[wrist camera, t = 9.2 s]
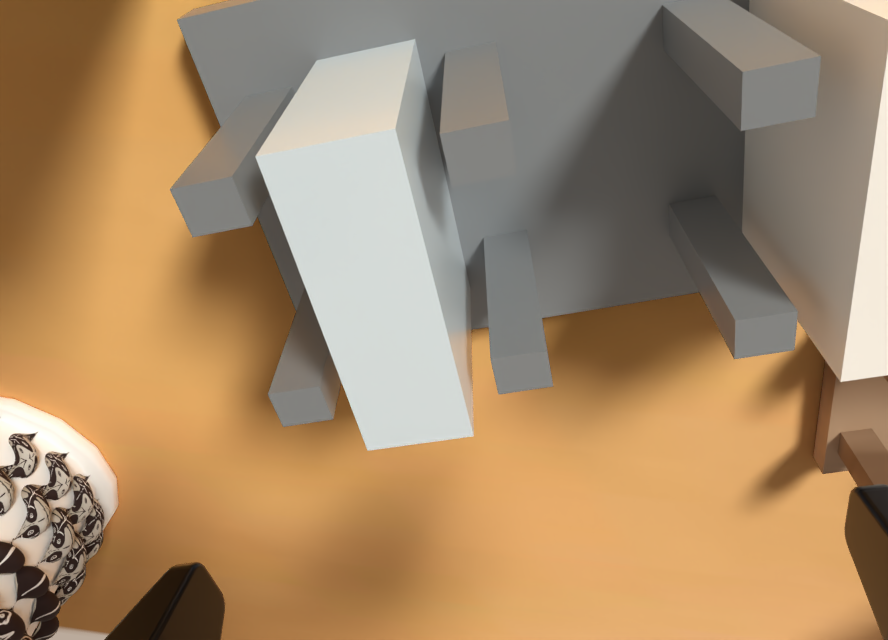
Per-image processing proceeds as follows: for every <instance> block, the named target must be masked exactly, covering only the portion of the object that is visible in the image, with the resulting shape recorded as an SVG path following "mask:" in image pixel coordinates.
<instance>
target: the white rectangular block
mask: <svg viewBox="0 0 888 640" xmlns="http://www.w3.org/2000/svg"><path fill="white" fill-rule="evenodd" d="M749 12H750V13H752V14H753V15H755V16H756V17H758V18H760V19H761V20H763V21H765V22H766V23H768V24H770V25H771V26H773V27H774V28H776V29H778V30H779V31H781V32H783V33H784V34H786V35H788V36H789V37H791V38H792V39H794V40H796V41H797V42H799V43H801V44H802V45H804V46H806V47H807V48H809V49H811V50H812V51H814V52H815V53H817V54H819V55H820V56H821V61H820V72H819V84H818V95H817V106H816V117H812V118H807V119H802V120H796V121H791V122H786V123H781V124H776V125H771V126H765V127H760V128H755V129H750V130H745V154H744V185H743V216H742V233H743V234H744V236H745V237H746V239H747V240H748V242H749V243H750V244H751V246H752V247H753V249H754V250H755V251H756V253H757V254H758V256H759V257H760V258H761V260H762V261H763V263H764V264H765V265H766V267H767V268H768V270H769V271H770V272H771V274H772V275H773V277H774V278H775V280H776V281H777V282H778V284H779V285H780V287H781V288H782V289H783V291H784V292H785V294H786V295H787V296H788V298H789V299H790V301H791V302H792V303H793V305H794V306H795V308H796V309H797V310H798V316H797V320H798V322H799V323H800V325H801V326H802V327H803V329H804V330H805V332H806V333H807V335H808V336H809V337H810V339H811V340H812V342H813V343H814V345H815V346H816V348H817V349H818V350H819V352H820V353H821V355H822V356H823V358H824V359H825V360H826V362H827V363H828V365H829V366H830V368H831V369H832V370H833V372H834V373H835V375H836V376H837V378H838V379H839V381H840V382H844V381H851V380H858V379H865V378H872V377H879V376H886V375H888V0H749Z"/></svg>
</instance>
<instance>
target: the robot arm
mask: <svg viewBox="0 0 888 640" xmlns="http://www.w3.org/2000/svg"><path fill="white" fill-rule="evenodd" d="M845 538H846V542H847V545H848V548H849V551H850V553H851V556H852V559H853V561H854V564H855V566H856V569H857V572H858V574H859V577H860V579H861V582H862V585H863V587H864V590H865V592H866V595H867V598H868V600H869V603H870V605H871V608H872V611H873V613H874V616H875V618H876V621H877V624H878V626H879V629H880V631H881V634H882V637H883V639H884V640H888V485H885V484H877V485H868V486H860V487H855V488H854V489H853V490H852V491H851V493H850V496H849V503H848V509H847V515H846V522H845ZM224 611H225V602H224V597H223V594H222V592H221V591H220V589H219V588H218V586H217V585H216V583H215V581H214V580H213V578H212V577H211V575H210V574H209V572H208V571H207V569H206V568H205V567H204V565H202V564H200V563H197V562H195V563H186V564H178V565H175V566H173V567H171V568H170V569H169V570H168V571H167V572H166V573H165V574H164V575H163V576H162V577H161V578H160V579H159V580H158V582H157V583H156V584H155V585H154V586H153V587H152V588H151V589H150V590H149V591H148V592H147V594H146V595H145V596H144V597H143V598H142V599H141V600H140V601H139V602H138V603H137V604H136V606H135V607H134V608H133V609H132V610H131V611H130V612H129V613H128V614H127V615H126V617H125V618H124V619H123V620H122V621H121V622H120V623H119V624H118V625H117V626H116V627H115V629H114V630H113V631H112V632H111V633H110V634H109V635H108V636H107V637H106V638H105V640H221V634H222V626H223V619H224Z"/></svg>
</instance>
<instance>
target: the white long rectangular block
mask: <svg viewBox="0 0 888 640" xmlns="http://www.w3.org/2000/svg"><path fill="white" fill-rule="evenodd" d="M255 157H256V160H257V162H258V165H259V168H260V170H261V173H262V175H263V178H264V181H265V183H266V186H267V189H268V191H269V194H270V196H271V199H272V202H273V204H274V207H275V209H276V212H277V215H278V217H279V220H280V223H281V225H282V228H283V230H284V233H285V236H286V238H287V241H288V243H289V246H290V249H291V251H292V254H293V257H294V259H295V262H296V264H297V267H298V270H299V272H300V275H301V278H302V280H303V283H304V285H305V288H306V291H307V293H308V296H309V298H310V301H311V304H312V306H313V309H314V312H315V314H316V317H317V319H318V322H319V325H320V327H321V330H322V333H323V335H324V338H325V340H326V343H327V346H328V348H329V351H330V353H331V356H332V359H333V361H334V364H335V367H336V369H337V372H338V374H339V377H340V380H341V382H342V385H343V387H344V390H345V393H346V395H347V398H348V401H349V403H350V406H351V408H352V411H353V414H354V416H355V419H356V422H357V424H358V427H359V429H360V432H361V435H362V437H363V440H364V442H365V445H366V448H367V450H368V451H369V450H377V449H384V448H391V447H398V446H406V445H413V444H420V443H428V442H435V441H442V440H450V439H457V438H464V437H471V436H474V427H473V382H472V338H471V294H470V285H469V280H468V276H467V271H466V267H465V262H464V258H463V253H462V249H461V244H460V239H459V235H458V230H457V226H456V221H455V217H454V212H453V208H452V203H451V199H450V194H449V190H448V185H447V181H446V176H445V172H444V167H443V163H442V158H441V154H440V149H439V145H438V140H437V136H436V131H435V127H434V122H433V118H432V113H431V109H430V104H429V100H428V95H427V90H426V86H425V81H424V77H423V72H422V68H421V63H420V59H419V54H418V50H417V45H416V41H415V39H413V40H409V41H404V42H399V43H395V44H390V45H385V46H381V47H376V48H372V49H367V50H362V51H358V52H353V53H349V54H344V55H339V56H335V57H330V58H326V59H321V60H317V61H316V62H315V64H314V65H313V67H312V69H311V70H310V72H309V73H308V75H307V76H306V78H305V80H304V81H303V83H302V84H301V86H300V87H299V89H298V90H297V92H296V94H295V95H294V97H293V98H292V100H291V101H290V103H289V105H288V106H287V108H286V109H285V111H284V112H283V114H282V116H281V117H280V119H279V120H278V122H277V123H276V125H275V126H274V128H273V130H272V131H271V133H270V134H269V136H268V137H267V139H266V141H265V142H264V144H263V145H262V147H261V148H260V150H259V152H258V153H257V155H256V156H255Z"/></svg>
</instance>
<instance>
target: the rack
mask: <svg viewBox="0 0 888 640" xmlns="http://www.w3.org/2000/svg"><path fill="white" fill-rule="evenodd" d="M177 21H178V24H179V26H180V29H181V31H182V34H183V36H184V39H185V41H186V43H187V46H188V48H189V51H190V53H191V56H192V58H193V61H194V63H195V65H196V68H197V70H198V73H199V75H200V78H201V80H202V83H203V85H204V87H205V90H206V92H207V95H208V97H209V100H210V102H211V105H212V107H213V109H214V112H215V114H216V117H217V119H218V122H219V124H220V127H221V128H220V129H219V130H218V131H217V132H216V134H215V135H214V136H213V137H212V139H211V140H210V141H209V142H208V143H207V145H206V146H205V147H204V148H203V150H202V151H201V152H200V153H199V154H198V156H197V157H196V158H195V159H194V160H193V162H192V163H191V164H190V165H189V167H188V168H187V169H186V170H185V171H184V173H183V174H182V175H181V176H180V178H179V179H178V180H177V181H176V182H175V184H174V185H173V186H172V187H171V188H170V191H171V193H172V195H173V197H174V199H175V201H176V203H177V205H178V207H179V210H180V212H181V214H182V216H183V218H184V220H185V222H186V224H187V226H188V228H189V230H190V233H191V235H192V237H197V236H202V235H207V234H213V233H218V232H223V231H228V230H233V229H238V228H244V227H249V226H253V224H254V222H255V220H256V218H257V217H258V219H259V222H260V224H261V227H262V229H263V232H264V234H265V236H266V239H267V241H268V244H269V246H270V249H271V251H272V254H273V256H274V258H275V261H276V263H277V266H278V268H279V271H280V273H281V276H282V278H283V280H284V283H285V285H286V288H287V290H288V293H289V295H290V298H291V300H292V302H293V305H294V307H295V310H296V314H295V317H294V320H293V323H292V326H291V328H290V331H289V334H288V337H287V340H286V343H285V346H284V349H283V352H282V355H281V358H280V360H279V363H278V366H277V369H276V372H275V375H274V378H273V381H272V384H271V387H270V389H269V392H268V396H269V398H270V400H271V402H272V404H273V407H274V409H275V411H276V413H277V415H278V417H279V419H280V421H281V423H282V425H283V427H286V426H292V425H299V424H306V423H312V422H319V421H326V420H332V419H333V418H334V413H335V409H336V404H337V400H338V395H339V390H340V386H341V380H340V377H339V374H338V372H337V369H336V367H335V364H334V361H333V359H332V356H331V353H330V351H329V348H328V346H327V343H326V340H325V338H324V335H323V333H322V330H321V327H320V325H319V322H318V319H317V317H316V314H315V312H314V309H313V306H312V304H311V301H310V298H309V296H308V293H307V291H306V288H305V285H304V283H303V280H302V278H301V275H300V272H299V270H298V267H297V264H296V262H295V259H294V257H293V254H292V251H291V249H290V246H289V243H288V241H287V238H286V236H285V233H284V230H283V228H282V225H281V223H280V220H279V217H278V215H277V212H276V209H275V207H274V204H273V202H272V199H271V196H270V194H269V191H268V189H267V186H266V183H265V181H264V178H263V175H262V173H261V170H260V168H259V165H258V162H257V160H256V157H255V156H256V155H257V153H258V152H259V150H260V148H261V147H262V145H263V144H264V142H265V141H266V139H267V137H268V136H269V134H270V133H271V131H272V130H273V128H274V126H275V125H276V123H277V122H278V120H279V119H280V117H281V116H282V114H283V112H284V111H285V109H286V108H287V106H288V105H289V103H290V101H291V100H292V98H293V97H294V95H295V94H296V92H297V90H298V89H299V87H300V86H301V84H302V83H303V81H304V80H305V78H306V76H307V75H308V73H309V72H310V70H311V69H312V67H313V65H314V64H315V62H316V61H317V60H321V59H326V58H330V57H335V56H339V55H344V54H349V53H353V52H358V51H362V50H367V49H372V48H376V47H381V46H385V45H390V44H395V43H399V42H404V41H409V40H413V39H415V41H416V45H417V50H418V54H419V59H420V63H421V68H422V72H423V77H424V81H425V86H426V90H427V95H428V100H429V104H430V109H431V113H432V118H433V122H434V127H435V131H436V136H437V140H438V145H439V149H440V154H441V158H442V163H443V167H444V172H445V176H446V181H447V185H448V190H449V194H450V199H451V203H452V208H453V212H454V217H455V221H456V226H457V230H458V235H459V239H460V244H461V249H462V253H463V258H464V262H465V267H466V271H467V276H468V280H469V285H470V294H471V330H473V329H479V328H485V327H489V339H490V357H491V363H492V368H493V372H494V376H495V381H496V385H497V390H498V394H506V393H512V392H519V391H526V390H532V389H539V388H546V387H552V386H553V382H552V376H551V370H550V364H549V358H548V352H547V346H546V340H545V334H544V328H543V322H542V318H546V317H552V316H558V315H564V314H570V313H576V312H582V311H589V310H595V309H601V308H607V307H613V306H619V305H625V304H631V303H637V302H643V301H650V300H656V299H662V298H668V297H674V296H680V295H686V294H692V293H698V292H699V293H700V294H701V296H702V298H703V300H704V302H705V304H706V306H707V308H708V310H709V312H710V314H711V315H712V317H713V319H714V321H715V323H716V325H717V327H718V329H719V331H720V333H721V335H722V336H723V338H724V340H725V342H726V344H727V346H728V348H729V350H730V352H731V354H732V355H733V357H734V359H739V358H745V357H752V356H759V355H765V354H772V353H779V352H785V351H792V350H794V349H795V338H796V327H797V316H798V310H797V309H796V308H795V306H794V305H793V303H792V302H791V301H790V299H789V298H788V296H787V295H786V294H785V292H784V291H783V289H782V288H781V287H780V285H779V284H778V282H777V281H776V280H775V278H774V277H773V275H772V274H771V272H770V271H769V270H768V268H767V267H766V265H765V264H764V263H763V261H762V260H761V258H760V257H759V256H758V254H757V253H756V251H755V250H754V249H753V247H752V246H751V244H750V243H749V242H748V240H747V239H746V237H745V236H744V234H743V233H742V216H743V185H744V154H745V130H750V129H755V128H760V127H765V126H771V125H776V124H781V123H786V122H791V121H796V120H802V119H807V118H812V117H816V106H817V95H818V84H819V72H820V61H821V56H820V55H819V54H817V53H815V52H814V51H812V50H811V49H809V48H807V47H806V46H804V45H802V44H801V43H799V42H797V41H796V40H794V39H792V38H791V37H789V36H788V35H786V34H784V33H783V32H781V31H779V30H778V29H776V28H774V27H773V26H771V25H770V24H768V23H766V22H765V21H763V20H761V19H760V18H758V17H756V16H755V15H753V14H752V13H750V12H749V0H229V1H225V2H220V3H216V4H212V5H208V6H204V7H200V8H196V9H193V10H191V11H190V12H188V13H186V14H185V15H183V16H182V17H180V18H179V19H177Z"/></svg>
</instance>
